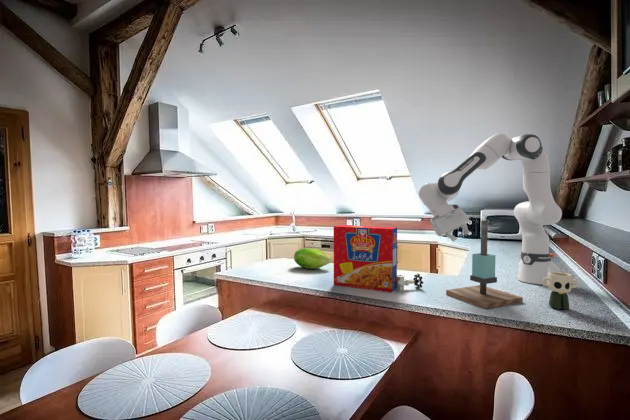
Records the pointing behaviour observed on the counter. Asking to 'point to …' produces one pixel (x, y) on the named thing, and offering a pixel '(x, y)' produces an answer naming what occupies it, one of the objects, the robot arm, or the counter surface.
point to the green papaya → (311, 258)
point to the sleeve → (483, 266)
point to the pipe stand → (484, 286)
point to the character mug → (559, 288)
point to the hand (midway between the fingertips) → (461, 236)
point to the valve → (407, 282)
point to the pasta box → (365, 257)
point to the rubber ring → (483, 280)
